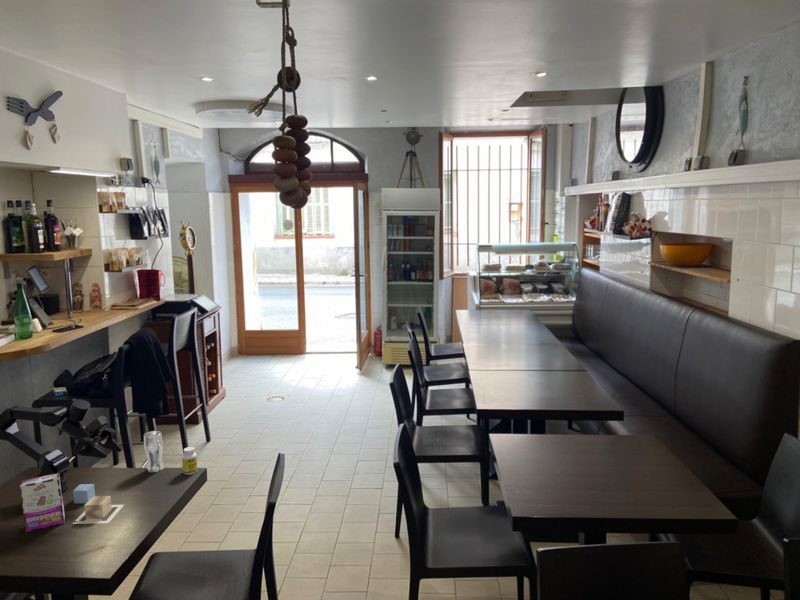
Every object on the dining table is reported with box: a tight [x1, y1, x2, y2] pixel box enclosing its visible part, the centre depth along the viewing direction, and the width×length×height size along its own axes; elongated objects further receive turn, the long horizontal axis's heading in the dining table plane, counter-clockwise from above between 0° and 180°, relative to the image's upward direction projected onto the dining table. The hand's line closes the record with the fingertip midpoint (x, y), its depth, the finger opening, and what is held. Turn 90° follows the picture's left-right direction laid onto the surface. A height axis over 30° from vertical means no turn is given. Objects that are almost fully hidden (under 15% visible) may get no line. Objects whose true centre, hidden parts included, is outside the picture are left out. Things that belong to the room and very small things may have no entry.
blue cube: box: [72, 483, 96, 504], centre depth 211 cm, size 5×5×5 cm
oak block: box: [83, 495, 113, 519], centre depth 201 cm, size 6×6×5 cm
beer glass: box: [143, 430, 164, 473], centre depth 234 cm, size 7×7×15 cm
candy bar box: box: [19, 473, 66, 533], centre depth 194 cm, size 11×5×16 cm, turn 117°
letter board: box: [72, 504, 125, 525], centre depth 202 cm, size 12×12×1 cm
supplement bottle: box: [182, 446, 198, 476], centre depth 232 cm, size 5×5×10 cm
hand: (113, 453), depth 209 cm, fingers open, 9 cm apart
